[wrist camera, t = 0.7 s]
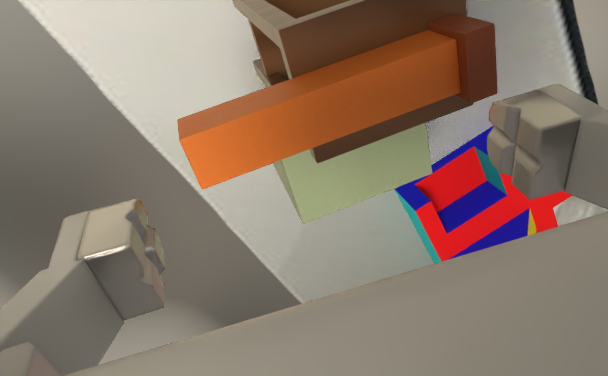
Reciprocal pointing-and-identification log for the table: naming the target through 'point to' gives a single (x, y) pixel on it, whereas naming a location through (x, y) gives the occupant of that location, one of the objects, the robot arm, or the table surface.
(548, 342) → the robot arm
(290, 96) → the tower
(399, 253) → the table surface
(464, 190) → the building blocks toy
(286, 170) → the sage green box
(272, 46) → the stand
